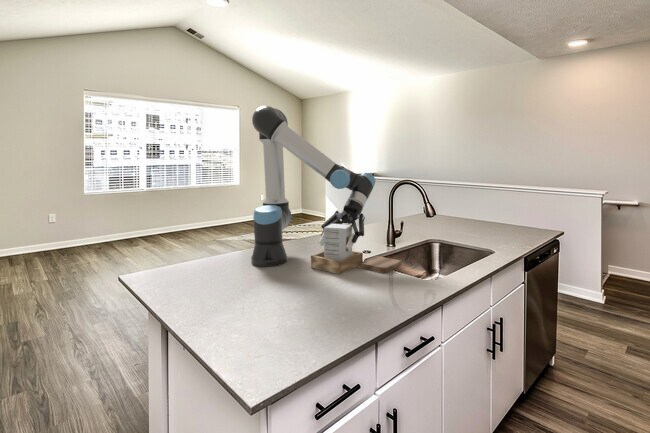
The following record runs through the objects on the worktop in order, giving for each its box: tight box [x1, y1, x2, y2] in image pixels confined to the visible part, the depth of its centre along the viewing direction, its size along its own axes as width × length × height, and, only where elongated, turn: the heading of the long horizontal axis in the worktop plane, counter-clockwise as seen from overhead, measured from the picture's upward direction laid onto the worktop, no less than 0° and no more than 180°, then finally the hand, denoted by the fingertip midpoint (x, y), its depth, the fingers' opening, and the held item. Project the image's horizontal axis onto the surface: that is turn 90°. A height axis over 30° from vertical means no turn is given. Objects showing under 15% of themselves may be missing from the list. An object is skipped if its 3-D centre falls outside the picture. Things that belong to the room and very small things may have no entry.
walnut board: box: [358, 255, 403, 274], centre depth 154 cm, size 12×13×2 cm
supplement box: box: [323, 223, 353, 261], centre depth 154 cm, size 10×9×17 cm
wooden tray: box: [310, 250, 364, 275], centre depth 155 cm, size 14×16×5 cm
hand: (333, 246), depth 152 cm, fingers open, 13 cm apart
